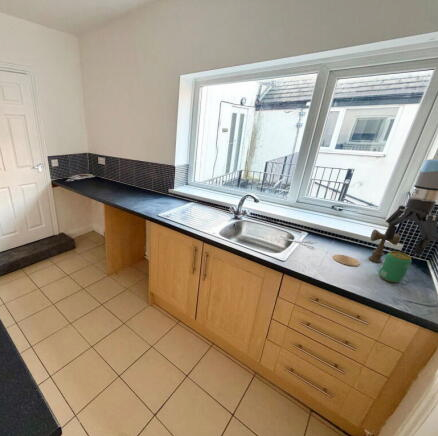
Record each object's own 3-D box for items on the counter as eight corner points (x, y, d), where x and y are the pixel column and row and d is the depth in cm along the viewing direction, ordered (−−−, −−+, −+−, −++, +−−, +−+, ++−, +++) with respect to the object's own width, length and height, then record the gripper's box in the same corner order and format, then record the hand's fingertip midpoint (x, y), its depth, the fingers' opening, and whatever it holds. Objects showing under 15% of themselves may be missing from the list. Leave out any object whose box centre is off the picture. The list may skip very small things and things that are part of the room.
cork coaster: (349, 255, 130) (349, 254, 130) (365, 266, 120) (365, 265, 120) (327, 254, 131) (328, 254, 131) (341, 265, 120) (342, 264, 120)
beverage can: (383, 270, 116) (393, 249, 111) (405, 280, 109) (417, 257, 104) (374, 274, 113) (384, 252, 108) (395, 285, 106) (407, 261, 101)
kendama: (361, 255, 130) (375, 221, 122) (385, 260, 125) (401, 225, 118) (363, 260, 125) (378, 225, 118) (388, 266, 121) (405, 230, 113)
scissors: (317, 249, 134) (277, 240, 144) (317, 250, 135) (277, 241, 144) (317, 241, 143) (279, 233, 152) (316, 243, 143) (279, 234, 153)
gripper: (386, 191, 110) (370, 233, 117) (446, 208, 86) (421, 260, 94) (403, 191, 109) (386, 234, 117) (469, 208, 86) (442, 261, 93)
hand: (402, 246), depth 105 cm, fingers open, 13 cm apart
